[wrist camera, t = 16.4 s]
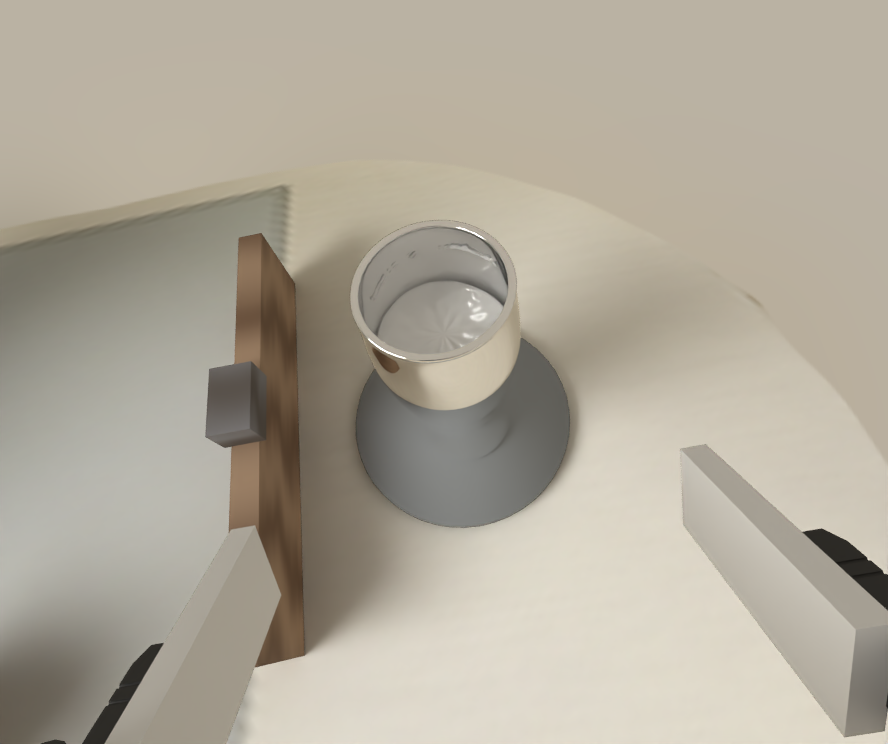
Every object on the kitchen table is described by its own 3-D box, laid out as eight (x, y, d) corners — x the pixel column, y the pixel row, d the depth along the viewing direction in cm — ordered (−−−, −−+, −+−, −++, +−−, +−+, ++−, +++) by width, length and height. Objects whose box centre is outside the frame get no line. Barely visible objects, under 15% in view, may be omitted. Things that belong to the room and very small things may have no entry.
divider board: (311, 654, 29) (245, 670, 22) (270, 661, 29) (191, 679, 22) (299, 282, 40) (253, 211, 33) (270, 288, 40) (218, 218, 33)
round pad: (319, 409, 35) (316, 406, 35) (474, 293, 38) (473, 288, 37) (444, 578, 30) (443, 577, 29) (615, 429, 32) (617, 426, 32)
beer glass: (464, 492, 31) (430, 404, 18) (389, 419, 34) (308, 293, 20) (540, 413, 33) (560, 276, 19) (462, 349, 35) (432, 189, 22)
